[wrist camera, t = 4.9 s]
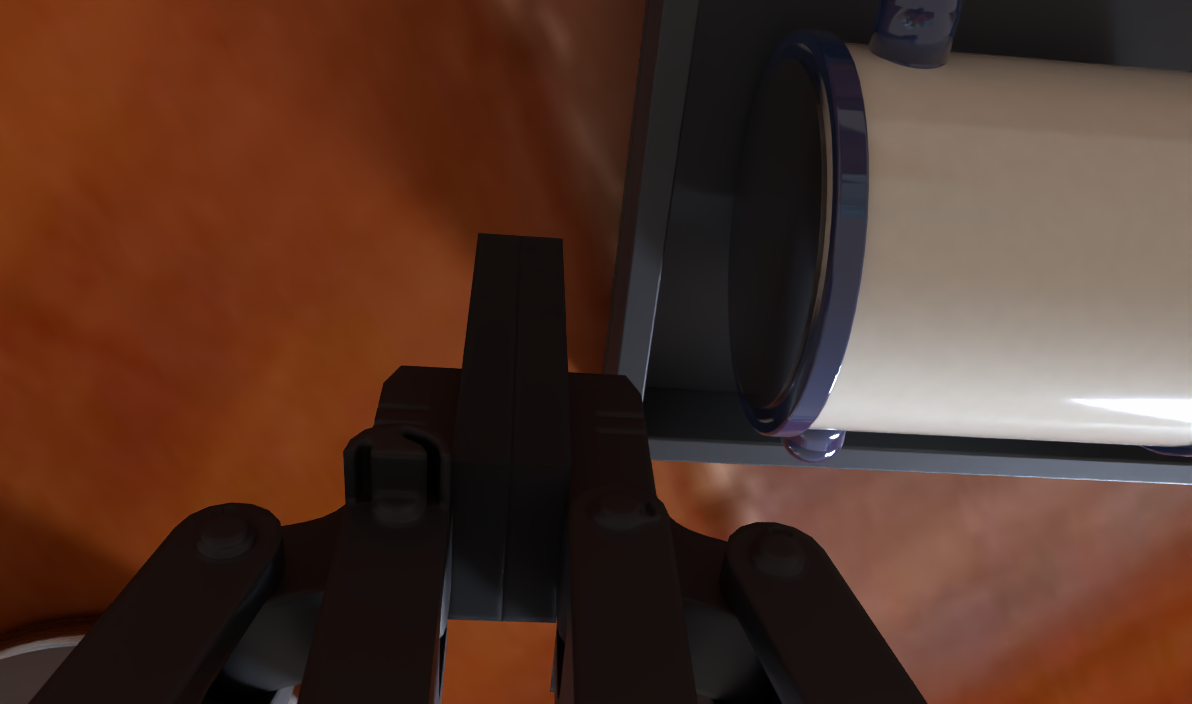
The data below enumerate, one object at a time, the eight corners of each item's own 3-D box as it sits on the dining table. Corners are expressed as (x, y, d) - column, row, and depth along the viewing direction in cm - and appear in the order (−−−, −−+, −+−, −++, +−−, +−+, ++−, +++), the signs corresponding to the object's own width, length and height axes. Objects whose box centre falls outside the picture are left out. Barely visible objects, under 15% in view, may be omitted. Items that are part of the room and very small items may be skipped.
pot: (700, 360, 30) (756, 578, 22) (778, -88, 23) (893, 4, 16) (1036, 379, 30) (1199, 594, 23) (1197, -47, 24) (1492, 57, 17)
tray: (600, 395, 31) (605, 459, 28) (668, -191, 23) (685, -180, 20) (1390, 436, 33) (1465, 498, 30) (1708, -82, 25) (1846, -59, 22)
